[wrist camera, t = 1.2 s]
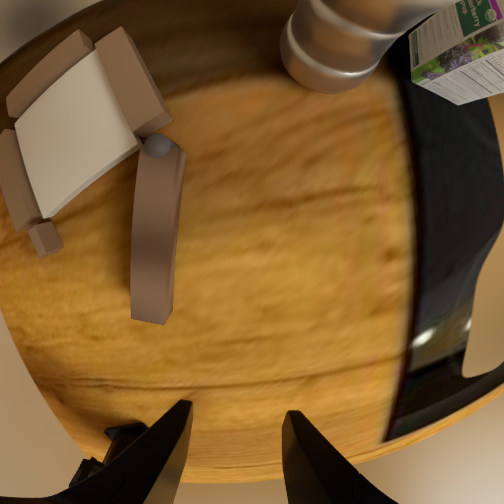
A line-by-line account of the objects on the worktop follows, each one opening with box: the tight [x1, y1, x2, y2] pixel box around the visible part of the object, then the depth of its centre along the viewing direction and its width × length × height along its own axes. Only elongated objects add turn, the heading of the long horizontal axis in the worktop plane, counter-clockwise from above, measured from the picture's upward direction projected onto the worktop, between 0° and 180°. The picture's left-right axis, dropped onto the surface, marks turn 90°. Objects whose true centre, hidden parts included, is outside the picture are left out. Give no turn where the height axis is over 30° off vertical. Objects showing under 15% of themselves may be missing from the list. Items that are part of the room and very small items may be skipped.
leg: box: [130, 133, 187, 325], centre depth 17 cm, size 12×2×3 cm, turn 172°
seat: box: [0, 26, 174, 258], centre depth 15 cm, size 15×15×2 cm
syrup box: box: [408, 0, 504, 105], centre depth 9 cm, size 6×6×14 cm
